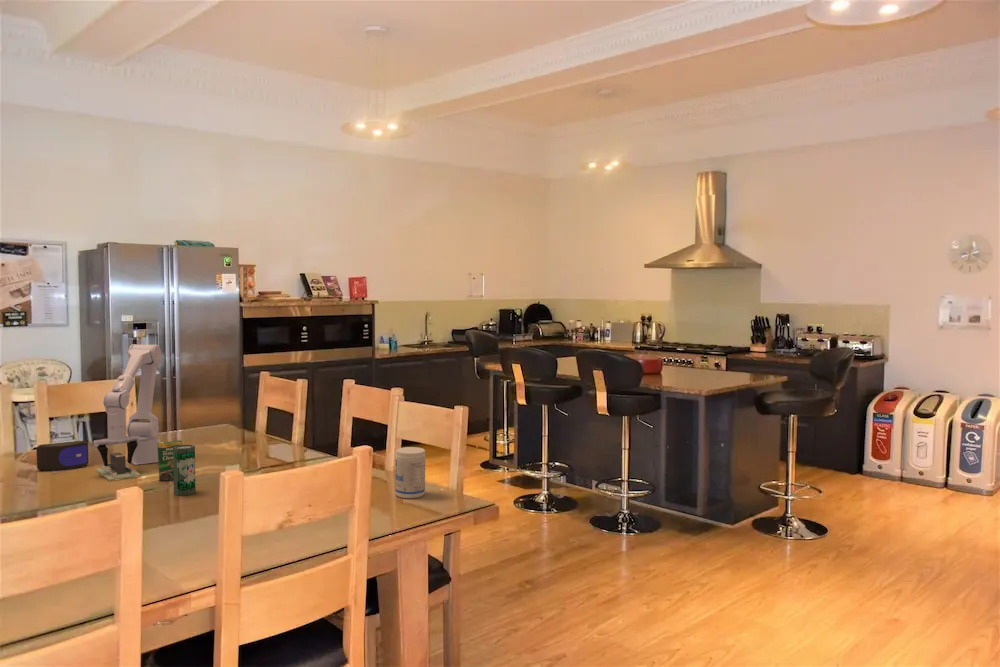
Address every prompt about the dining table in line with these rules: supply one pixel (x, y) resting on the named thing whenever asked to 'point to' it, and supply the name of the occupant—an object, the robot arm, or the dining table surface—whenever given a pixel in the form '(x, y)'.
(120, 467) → the brown block
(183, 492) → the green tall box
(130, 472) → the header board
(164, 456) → the coffee box
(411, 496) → the supplement tub
